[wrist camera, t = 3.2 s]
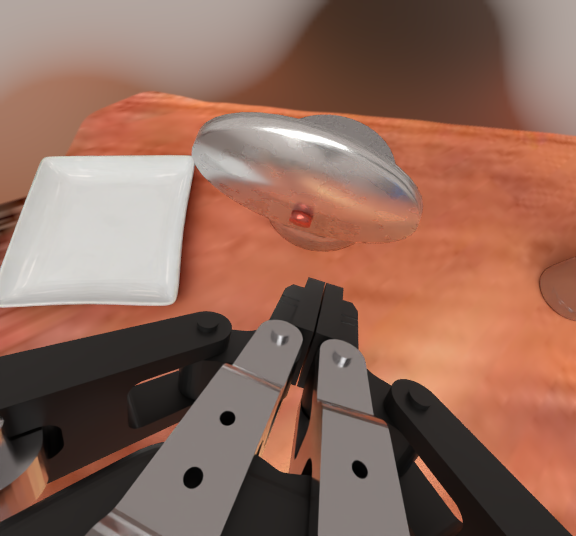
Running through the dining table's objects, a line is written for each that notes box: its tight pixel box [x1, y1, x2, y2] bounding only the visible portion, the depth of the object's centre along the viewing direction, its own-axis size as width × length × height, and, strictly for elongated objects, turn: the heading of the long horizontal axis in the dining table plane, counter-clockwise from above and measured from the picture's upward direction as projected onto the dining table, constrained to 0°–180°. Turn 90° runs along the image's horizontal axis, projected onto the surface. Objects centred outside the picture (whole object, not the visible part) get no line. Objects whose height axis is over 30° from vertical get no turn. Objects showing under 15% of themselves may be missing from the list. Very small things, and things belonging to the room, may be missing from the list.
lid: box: [192, 112, 423, 243], centre depth 26 cm, size 22×21×2 cm
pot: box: [269, 115, 395, 251], centre depth 44 cm, size 20×26×9 cm
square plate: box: [0, 155, 195, 307], centre depth 45 cm, size 27×27×4 cm
